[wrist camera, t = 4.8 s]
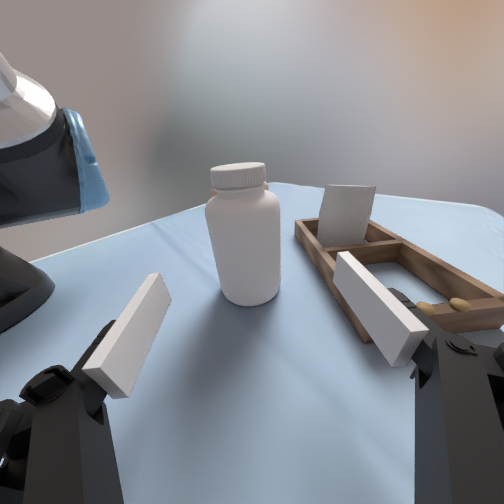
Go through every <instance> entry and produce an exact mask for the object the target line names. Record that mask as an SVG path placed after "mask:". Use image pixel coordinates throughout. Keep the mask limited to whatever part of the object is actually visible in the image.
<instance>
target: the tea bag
mask: <svg viewBox="0 0 504 504" xmlns="http://www.w3.org/2000/svg"><path fill="white" fill-rule="evenodd" d="M375 189H376V187H374V186H349V185H348V186H347V185H326V186H325V192H324V196H323V200H322V204H321V208H320V213H319V222H318V232H317V241H318V242H319V243H320V244H321V245H322V247H335V246H344V245H352V244H361V243H364V240H365V236H366V232H367V227H368V223H369V219H370V215H371V211H372V205H373V200H374V195H375Z"/></svg>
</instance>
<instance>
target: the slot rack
mask: <svg viewBox="0 0 504 504" xmlns="http://www.w3.org/2000/svg"><path fill="white" fill-rule="evenodd" d="M318 222H319V218H311V219H302V220H295V236H296V237H297V239H298V240H299V242H300V243H301V245H302V247H303V248H304V250H305V251H306V253H307V254H308V256H309V258H310V259H311V261H312V262H313V264H314V265H315V267H316V269H317V270H318V272H319V273H320V275H321V276H322V278H323V280H324V281H325V283H326V284H327V286H328V287H329V289H330V291H331V292H332V294H333V295H334V297H335V298H336V300H337V302H338V303H339V305H340V306H341V308H342V309H343V311H344V313H345V314H346V316H347V317H348V319H349V320H350V322H351V324H352V325H353V327H354V328H355V330H356V331H357V333H358V335H359V336H360V338H361V339H362V341H363V342H364V344H367V343H375V342H374V341H373V339H372V338H371V336H370V335H369V333H368V332H367V330H366V329H365V328H364V326H363V325H362V323H361V322H360V320H359V319H358V317H357V316H356V315H355V313H354V312H353V310H352V309H351V307H350V306H349V304H348V303H347V301H346V300H345V299H344V297H343V296H342V294H341V293H340V291H339V290H338V288H337V287H336V286H335V284H334V283H333V277H334V271H335V265H336V259H337V253H338V252H345V251H348V252H349V253H350V254H351V255H352V256H353V257H354V258H355V259H356V260H357V261H359V262H360V263H361V264H362V265H363V264H372V263H381V262H389V261H396V262H398V263H399V264H401V265H402V266H403V267H405V268H406V269H407V270H409V271H410V272H412V273H413V274H414V275H416V276H417V277H418V278H420V279H421V280H423V281H424V282H425V283H427V284H428V285H429V286H431V287H432V288H434V289H435V290H436V291H438V292H439V293H440V294H442V295H443V296H445V297H446V298H447V299H449V300H450V302H449V303H441V304H432V305H430V304H428V303H425V302H418V303H417V304H416V306H417V308H419V309H420V310H422V311H423V312H424V313H425V314H426V315H427V316H428V317H429V318H430V319H432V320H433V321H434V322H435V323H436V324H437V325H438V326H439V327H440V328H442V329H443V330H444V331H445V332H449V333H461V332H469V331H478V330H486V329H495V328H500V327H501V326H502V325H503V324H504V294H502V293H500V292H498V291H497V290H495V289H493V288H491V287H489V286H488V285H486V284H484V283H482V282H480V281H479V280H477V279H475V278H473V277H472V276H470V275H468V274H466V273H464V272H463V271H461V270H459V269H457V268H455V267H454V266H452V265H450V264H448V263H446V262H445V261H443V260H441V259H439V258H437V257H436V256H434V255H432V254H430V253H428V252H427V251H425V250H423V249H421V248H420V247H418V246H416V245H414V244H412V243H411V242H409V241H407V240H405V239H403V238H402V237H400V236H398V235H396V234H394V233H393V232H391V231H389V230H387V229H385V228H384V227H382V226H380V225H378V224H377V223H375V222H373V221H371V220H369V223H368V227H367V232H366V236H365V239H366V240H368V241H369V242H370V243H361V244H352V245H344V246H335V247H326V248H323V247H322V245H321V244H320V243H319V242H318V241H317V239H316V238H315V237H314V236H313V235H312V234H317V232H318Z"/></svg>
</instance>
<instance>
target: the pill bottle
mask: <svg viewBox="0 0 504 504" xmlns="http://www.w3.org/2000/svg"><path fill="white" fill-rule="evenodd" d="M210 176H211V181H212V185H213V186H215V187H214V188H213V189H214V191H215V192H217V195H215V196H214V197H212V198H211V199H210V200H209V201H208V203H207V204H206V208H205V217H206V221H207V226H208V230H209V235H210V239H211V244H212V248H213V253H214V257H215V262H216V266H217V271H218V275H219V280H220V284H221V288H222V291H223V294H224V295H225V297H226V298H227V299H228V300H229V301H231V302H232V303H234V304H237V305H241V306H257V305H261V304H264V303H266V302H268V301H269V300H271V299H272V298H273V297H274V296H275V295H276V294H277V292H278V290H279V288H280V281H281V271H280V204H279V201H278V199H277V197H276V196H275V195H274V194H273V193H271V192H269V191H267V190H264V187H266V185H267V183H266V182H265V180H266V166H265V164H264V163H259V162H258V163H257V162H251V163H237V164H229V165H223V166H217V167H214V168H211V169H210Z"/></svg>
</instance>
